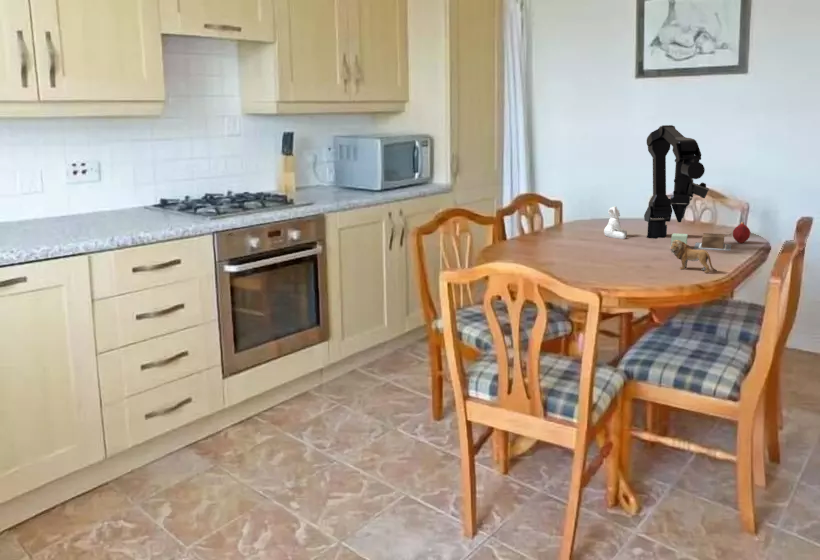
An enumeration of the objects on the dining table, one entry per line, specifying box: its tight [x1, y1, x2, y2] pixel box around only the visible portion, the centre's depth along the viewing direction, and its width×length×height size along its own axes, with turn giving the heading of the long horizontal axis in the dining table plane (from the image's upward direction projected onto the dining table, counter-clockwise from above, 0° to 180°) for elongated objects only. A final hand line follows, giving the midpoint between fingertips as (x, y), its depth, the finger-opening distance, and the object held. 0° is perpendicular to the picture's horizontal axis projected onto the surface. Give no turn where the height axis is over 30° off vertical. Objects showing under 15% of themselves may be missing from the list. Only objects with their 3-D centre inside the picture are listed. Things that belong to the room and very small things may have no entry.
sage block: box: [670, 232, 688, 245], centre depth 257 cm, size 5×5×5 cm
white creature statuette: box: [603, 205, 628, 240], centre depth 281 cm, size 10×9×12 cm
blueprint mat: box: [693, 242, 732, 252], centre depth 258 cm, size 12×12×1 cm
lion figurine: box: [670, 240, 718, 274], centre depth 225 cm, size 15×5×9 cm, turn 50°
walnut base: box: [701, 232, 725, 249], centre depth 257 cm, size 7×7×4 cm
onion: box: [732, 221, 751, 244], centre depth 262 cm, size 6×6×8 cm
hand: (680, 220), depth 256 cm, fingers open, 9 cm apart
